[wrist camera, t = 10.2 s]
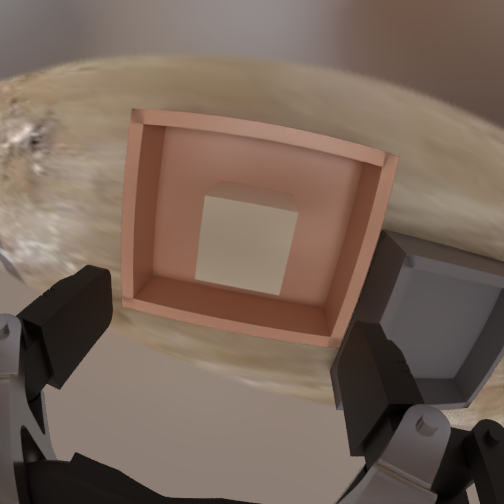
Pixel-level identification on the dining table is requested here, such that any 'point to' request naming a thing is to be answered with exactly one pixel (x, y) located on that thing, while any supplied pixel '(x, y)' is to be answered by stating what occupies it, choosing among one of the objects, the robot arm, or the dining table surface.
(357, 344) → the robot arm
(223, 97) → the dining table surface
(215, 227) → the block
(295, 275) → the bin
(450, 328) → the bin
